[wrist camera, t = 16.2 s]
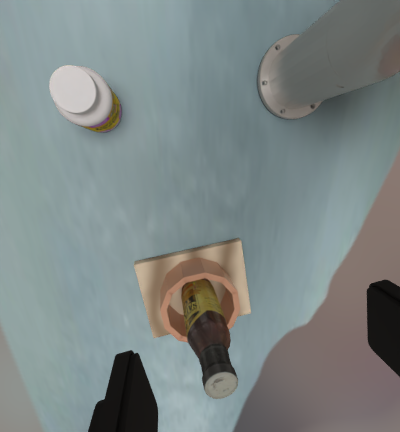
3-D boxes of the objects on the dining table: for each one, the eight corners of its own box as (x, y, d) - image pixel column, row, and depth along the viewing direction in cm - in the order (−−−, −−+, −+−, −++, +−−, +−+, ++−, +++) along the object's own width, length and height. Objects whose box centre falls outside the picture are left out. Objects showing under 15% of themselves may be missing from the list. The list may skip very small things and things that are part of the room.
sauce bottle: (183, 272, 45) (201, 357, 26) (215, 275, 47) (254, 359, 28) (177, 303, 47) (189, 406, 28) (208, 306, 48) (241, 405, 29)
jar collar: (224, 251, 46) (233, 265, 40) (234, 311, 49) (243, 332, 44) (154, 267, 44) (153, 284, 39) (169, 327, 48) (170, 351, 42)
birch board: (238, 238, 47) (241, 240, 46) (248, 308, 51) (251, 313, 50) (134, 261, 45) (133, 265, 44) (154, 332, 49) (153, 338, 48)
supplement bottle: (104, 141, 39) (78, 136, 27) (68, 110, 38) (23, 88, 25) (131, 110, 39) (118, 90, 27) (97, 77, 37) (65, 38, 25)
